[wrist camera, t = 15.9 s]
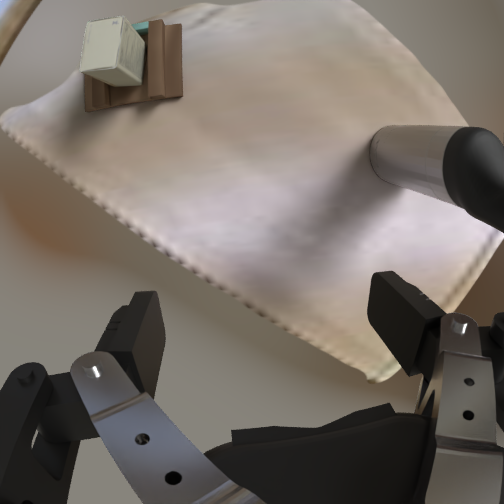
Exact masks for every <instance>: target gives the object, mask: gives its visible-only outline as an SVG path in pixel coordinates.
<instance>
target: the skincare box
mask: <svg viewBox="0 0 504 504" xmlns="http://www.w3.org/2000/svg"><path fill="white" fill-rule="evenodd" d="M146 54H147V44H146V43H145V42H144V41H143V39H142V38H141V37H140V36H139V34H138V33H137V32H136V30H135V29H134V28H133V27H132V25H131V24H130V23H129V22H128V20H127V19H126V18H125V17H124V16H118V17H111V18H104V19H98V20H93V21H88V22H87V26H86V30H85V35H84V40H83V47H82V53H81V61H80V70H79V71H80V72H81V73H84V74H86V75H89V76H91V77H93V78H96V79H98V80H100V81H103V82H105V83H107V84H109V85H111V86H114V87H119V86H139V85H142V84H143V77H144V69H145V61H146Z"/></svg>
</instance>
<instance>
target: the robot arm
mask: <svg viewBox="0 0 504 504" xmlns="http://www.w3.org/2000/svg"><path fill="white" fill-rule="evenodd" d="M370 160H371V164H372V167H373V169H374V171H375V172H376V174H377V175H378V176H379V177H380V178H381V179H382V180H384V181H386V182H388V183H392V184H395V185H398V186H401V187H404V188H407V189H410V190H413V191H416V192H419V193H422V194H424V195H427V196H430V197H433V198H436V199H439V200H441V201H444V202H447V203H450V204H453V205H455V206H458V207H460V208H463V209H465V210H466V212H467V213H468V214H470V215H471V216H473V217H474V218H476V219H478V220H480V221H482V222H484V223H486V224H488V225H490V226H492V227H494V228H496V229H498V230H499V231H501V232H503V233H504V146H503V144H502V143H501V141H500V140H499V139H498V137H497V136H496V135H494V134H493V133H492V132H491V131H489V130H486V129H484V128H479V127H462V126H432V125H392V126H386V127H384V128H382V129H381V130H379V131H378V132H377V134H376V135H375V136H374V138H373V140H372V143H371V146H370ZM367 315H368V320H369V322H370V324H371V326H372V327H373V328H374V330H375V331H376V332H377V334H378V335H379V336H380V338H381V339H382V340H383V342H384V343H385V345H386V346H387V347H388V349H389V350H390V351H391V353H392V354H393V355H394V357H395V358H396V360H397V361H398V362H399V364H400V365H401V367H402V368H403V369H404V371H405V372H406V373H407V375H408V376H409V377H410V376H413V375H416V374H420V373H422V374H423V377H422V379H421V382H420V387H419V392H418V397H417V402H416V407H415V412H414V414H413V413H395V411H394V409H393V408H392V406H391V404H390V403H387V404H383V405H379V406H376V407H372V408H368V409H364V410H359V411H355V412H353V413H351V414H349V415H347V416H344V417H342V418H340V419H338V420H336V421H333V422H331V423H329V424H327V425H324V426H322V427H318V428H300V427H280V426H270V427H261V428H251V429H241V430H231V432H232V442H229V443H226V444H223V445H220V446H217V447H215V448H213V449H211V450H209V451H207V452H205V453H204V454H202V452H200V450H199V449H198V448H196V446H195V445H194V444H193V443H192V442H191V441H190V440H189V439H188V438H187V437H186V436H185V435H184V434H183V433H182V432H181V431H180V430H179V429H178V427H177V426H176V425H175V424H174V423H173V422H172V421H171V420H170V419H169V417H168V416H167V415H166V414H165V413H164V412H163V411H162V409H161V408H160V407H159V406H158V405H157V404H156V403H155V401H154V396H155V390H156V386H157V380H158V375H159V371H160V366H161V361H162V356H163V352H164V347H165V340H166V337H165V327H164V323H163V318H162V313H161V308H160V304H159V298H158V294H157V292H156V291H141V292H135V294H134V296H133V298H132V300H131V302H130V304H129V305H128V306H127V305H126V306H122V307H121V308H119V309H118V310H117V311H116V312H115V313H114V314H113V315H112V317H111V319H110V322H109V323H108V325H107V327H106V330H105V331H104V333H103V335H102V337H101V339H100V341H99V343H98V345H97V347H96V349H95V351H94V352H90V353H87V354H84V355H83V356H81V357H79V358H78V359H76V360H75V361H74V363H73V364H72V366H71V369H70V372H67V373H61V374H55V375H48V374H47V371H46V369H45V368H44V366H43V365H41V364H39V363H35V362H32V363H26V364H23V365H20V366H19V367H17V368H16V369H14V370H13V371H12V372H11V374H10V375H9V377H8V378H7V380H6V382H5V384H4V385H3V387H2V389H1V390H0V504H67V499H68V494H69V489H70V484H71V479H72V475H73V470H74V465H75V461H76V457H77V453H78V449H79V445H80V441H81V440H84V439H91V438H97V437H101V439H102V441H103V443H104V444H105V446H106V448H107V449H108V451H109V453H110V455H111V456H112V458H113V459H114V461H115V463H116V464H117V466H118V468H119V469H120V471H121V472H122V474H123V475H124V477H125V478H126V480H127V481H128V483H129V484H130V486H131V487H132V489H133V490H134V491H135V493H136V494H137V496H138V497H139V498H140V500H141V501H142V503H143V504H504V448H503V447H500V446H497V443H496V422H497V423H498V424H499V426H500V427H501V429H502V430H503V432H504V312H502V313H497V314H496V315H495V316H494V319H493V321H492V324H491V326H486V327H478V325H477V323H476V322H475V321H474V320H473V319H472V318H470V317H469V316H467V315H464V314H460V313H448V314H447V313H445V312H444V311H443V310H442V309H441V308H440V307H439V306H438V305H436V304H435V303H434V302H433V301H432V300H431V299H430V300H429V297H427V296H426V295H425V294H423V292H422V291H420V290H419V289H418V288H417V287H416V286H414V285H412V284H410V283H407V282H406V281H404V280H403V279H402V278H401V277H400V276H398V275H397V274H396V273H395V272H394V271H385V272H376V273H374V274H373V276H372V279H371V286H370V294H369V301H368V308H367ZM36 429H37V430H38V434H37V437H36V440H35V442H34V445H33V448H32V447H31V445H32V440H33V436H34V434H35V431H36Z"/></svg>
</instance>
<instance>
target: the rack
mask: <svg viewBox="0 0 504 504" xmlns="http://www.w3.org/2000/svg"><path fill="white" fill-rule="evenodd" d="M132 27H133V28H134V29H135V30H136V32H137V33H138V34H139V36H140V37H141V38H142V39H143V41H144V42H145V43H146V44H147V54H146V61H145V69H144V77H143V84H142V85H139V86H119V87H114V86H111V85H109V84H107V83H105V82H103V81H100V80H98V79H96V78H93V77H91V76H89V75H86V74H85V112H91V111H95V110H100V109H105V108H110V107H115V106H120V105H126V104H132V103H138V102H144V101H151V100H159V99H166V98H175V97H183V81H182V25H181V24H173V25H166V26H165V24H164V22H163V20H162V19H161V20H155V21H148V22H143V23H137V24H132Z"/></svg>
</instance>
